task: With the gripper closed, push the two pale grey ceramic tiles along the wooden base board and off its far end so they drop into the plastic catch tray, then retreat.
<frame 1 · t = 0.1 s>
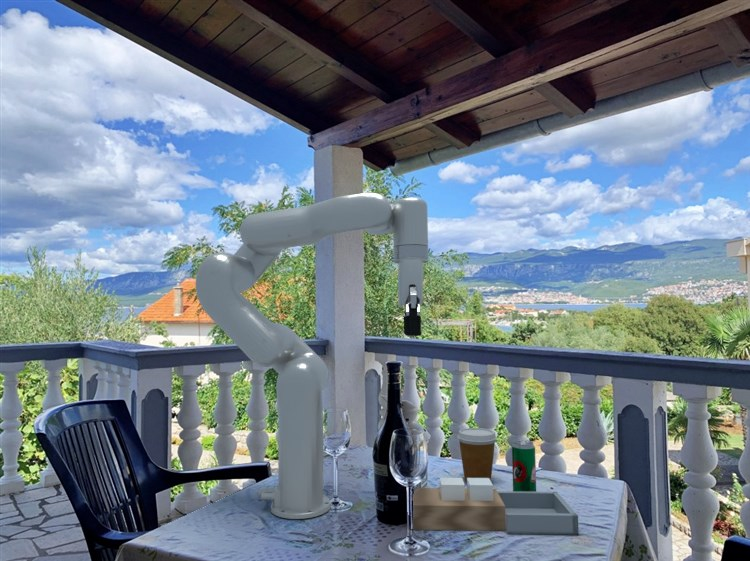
hand: (412, 334, 111), 37 cm above the table, tool pointing down, fingers open, 9 cm apart
soda can: (524, 497, 116), on the table
tray: (533, 520, 102), on the table
disposable coffee cup: (477, 482, 126), on the table
wooden base board: (455, 519, 103), on the table
rear tile: (452, 496, 103), point 4 cm above the table, touching wooden base board
tile 2: (479, 496, 103), point 4 cm above the table, touching wooden base board
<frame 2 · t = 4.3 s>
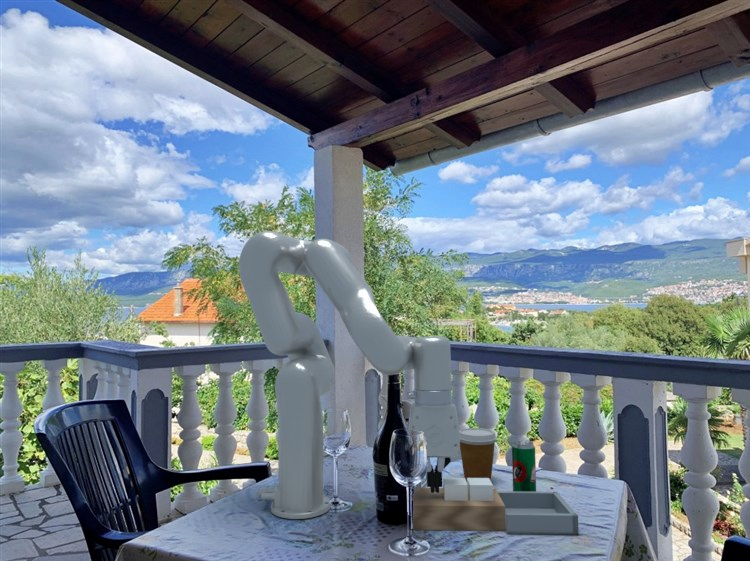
hand: (434, 490, 103), 6 cm above the table, tool pointing down, fingers closed
nothing on the table moved.
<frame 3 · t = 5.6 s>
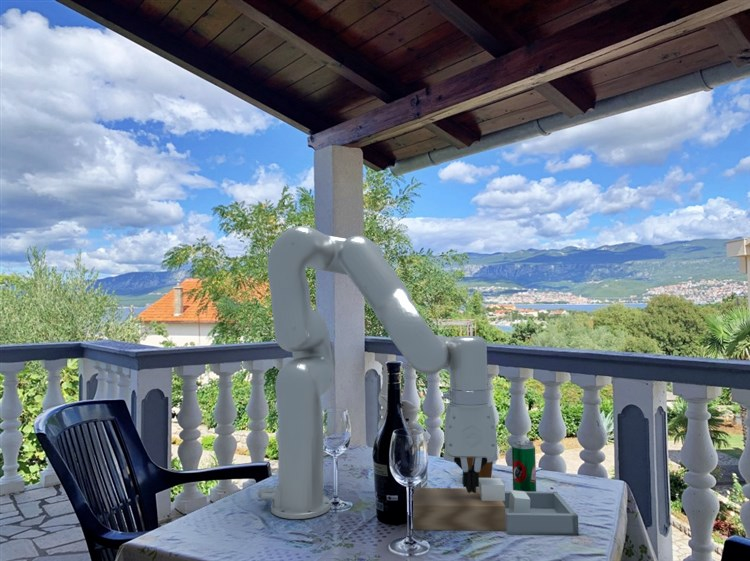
hand: (470, 490, 103), 6 cm above the table, tool pointing down, fingers closed
rear tile: (491, 496, 103), point 4 cm above the table, touching wooden base board, gripper
tile 2: (511, 505, 103), point 3 cm above the table, tilted 95°
everything else where it was.
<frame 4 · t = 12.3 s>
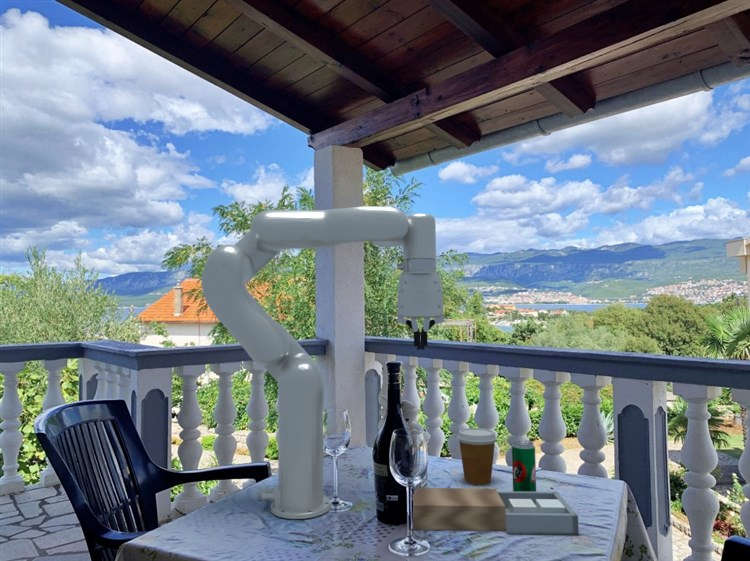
hand: (420, 349, 116), 33 cm above the table, tool pointing down, fingers closed
rear tile: (522, 518, 102), resting on tray
tile 2: (550, 503, 102), point 3 cm above the table, tilted 180°, touching tray
everything else where it was.
at the end: rear tile inside the target area on the tray (1.9 cm from its centre), point 0.4 cm above the tray's base; tile 2 inside the target area on the tray (3.5 cm from its centre), point 3.4 cm above the tray's base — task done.
